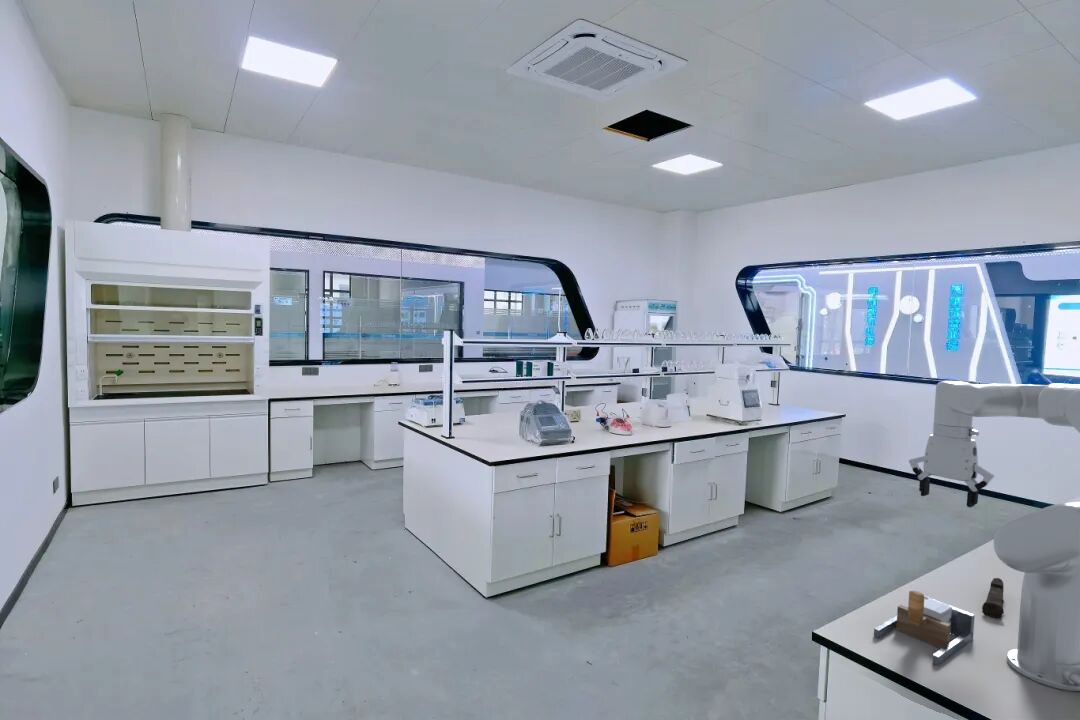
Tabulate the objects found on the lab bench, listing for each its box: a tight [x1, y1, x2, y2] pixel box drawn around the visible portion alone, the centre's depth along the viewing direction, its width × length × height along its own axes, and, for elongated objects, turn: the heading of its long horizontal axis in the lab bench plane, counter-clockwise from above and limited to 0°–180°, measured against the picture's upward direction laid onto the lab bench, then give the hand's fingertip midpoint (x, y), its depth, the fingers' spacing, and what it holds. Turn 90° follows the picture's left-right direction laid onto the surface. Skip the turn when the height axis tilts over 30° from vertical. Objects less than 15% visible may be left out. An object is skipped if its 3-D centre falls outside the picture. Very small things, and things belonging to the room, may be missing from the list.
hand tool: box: [981, 577, 1005, 620], centre depth 141 cm, size 19×4×5 cm, turn 135°
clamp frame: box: [873, 595, 976, 667], centre depth 125 cm, size 18×13×6 cm
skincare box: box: [923, 595, 952, 631], centre depth 126 cm, size 6×6×7 cm
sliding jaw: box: [895, 590, 951, 649], centre depth 123 cm, size 6×10×12 cm, turn 33°
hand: (947, 500), depth 135 cm, fingers open, 9 cm apart
